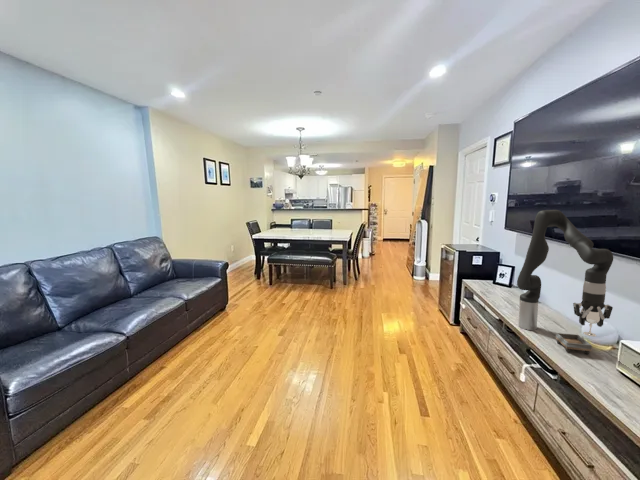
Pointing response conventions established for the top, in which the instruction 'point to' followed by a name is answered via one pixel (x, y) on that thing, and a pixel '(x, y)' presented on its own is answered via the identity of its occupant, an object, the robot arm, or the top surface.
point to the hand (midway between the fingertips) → (590, 325)
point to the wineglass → (592, 321)
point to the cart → (573, 342)
